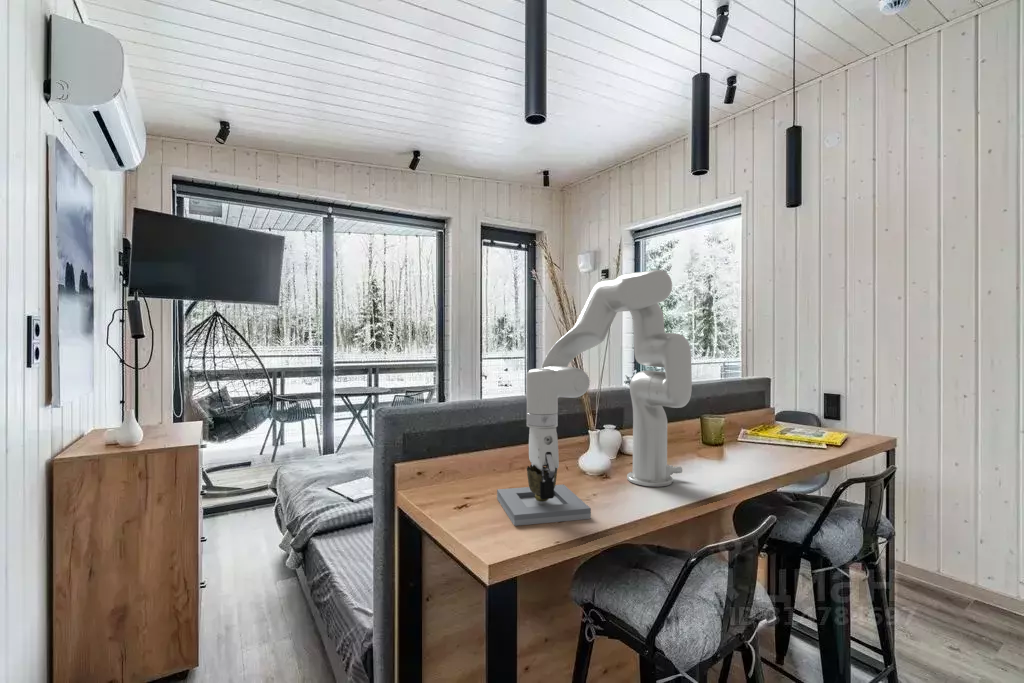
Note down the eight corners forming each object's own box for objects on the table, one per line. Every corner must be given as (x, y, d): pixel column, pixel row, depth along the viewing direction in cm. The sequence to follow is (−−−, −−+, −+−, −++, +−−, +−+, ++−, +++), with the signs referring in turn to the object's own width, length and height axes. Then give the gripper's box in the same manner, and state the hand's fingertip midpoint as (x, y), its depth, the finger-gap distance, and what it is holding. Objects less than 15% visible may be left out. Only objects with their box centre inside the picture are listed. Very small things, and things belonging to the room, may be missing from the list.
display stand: (563, 493, 129) (563, 484, 129) (590, 518, 112) (590, 508, 112) (497, 498, 125) (497, 489, 125) (514, 525, 107) (514, 515, 107)
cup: (559, 496, 121) (559, 464, 121) (554, 506, 114) (554, 472, 113) (530, 493, 123) (530, 461, 123) (523, 503, 116) (523, 470, 116)
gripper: (569, 425, 110) (569, 504, 111) (545, 413, 127) (545, 481, 128) (537, 427, 108) (537, 507, 109) (517, 414, 125) (517, 483, 126)
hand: (542, 492), depth 118 cm, fingers closed on cup, 6 cm apart
